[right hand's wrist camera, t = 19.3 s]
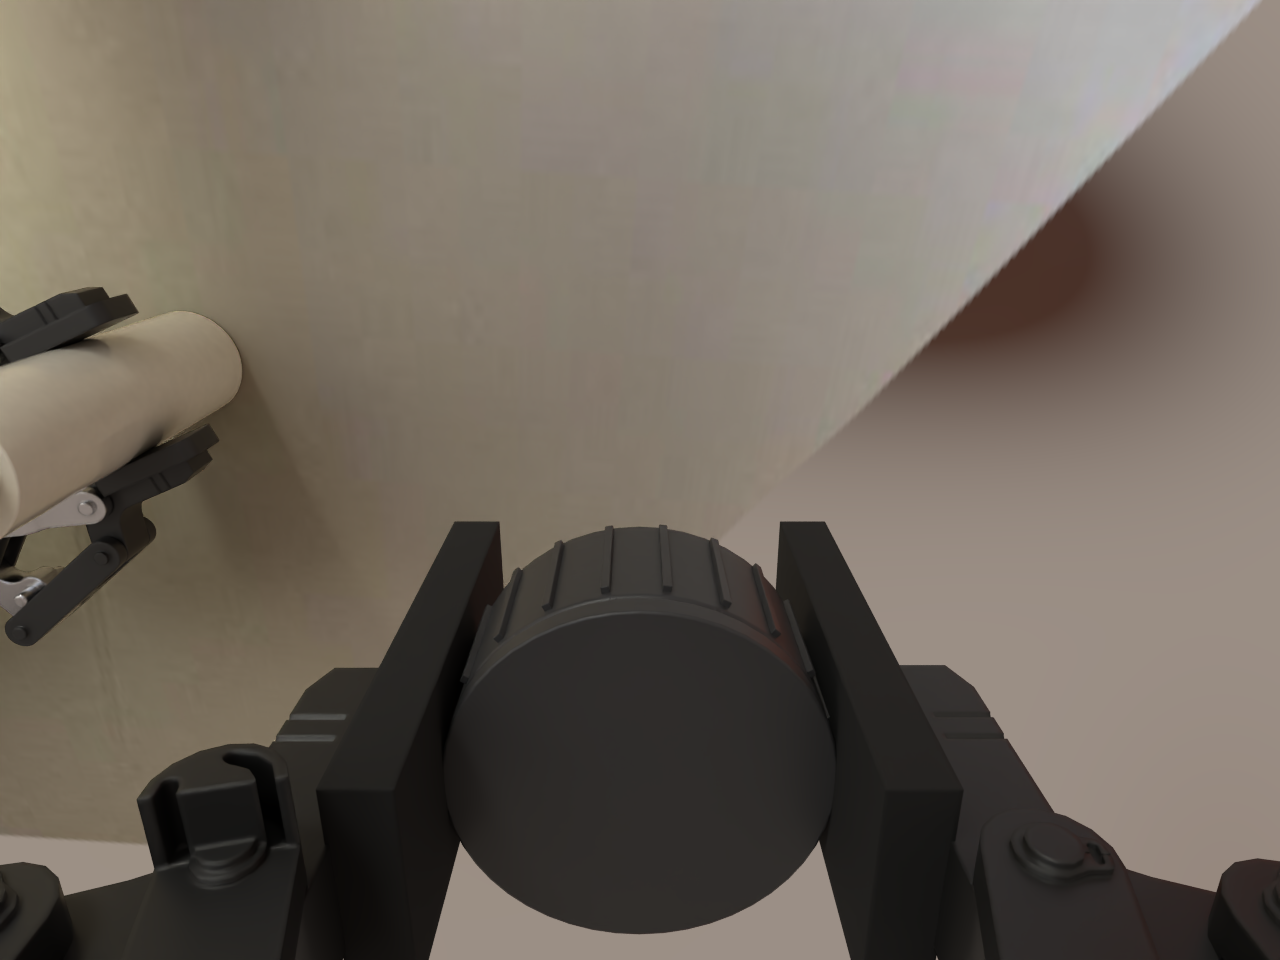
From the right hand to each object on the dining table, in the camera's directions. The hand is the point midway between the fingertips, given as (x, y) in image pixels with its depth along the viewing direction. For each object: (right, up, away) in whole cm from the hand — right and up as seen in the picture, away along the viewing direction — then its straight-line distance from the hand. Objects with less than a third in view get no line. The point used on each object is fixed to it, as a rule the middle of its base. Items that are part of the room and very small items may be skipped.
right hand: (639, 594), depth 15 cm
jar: (-19, +7, +21) cm, 29 cm away
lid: (0, -2, -4) cm, 4 cm away
